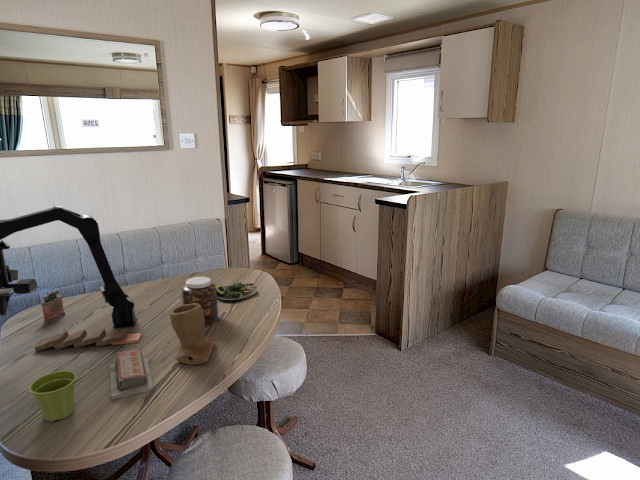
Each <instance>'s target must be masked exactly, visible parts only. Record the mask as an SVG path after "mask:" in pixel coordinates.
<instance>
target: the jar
mask: <svg viewBox="0 0 640 480" xmlns="http://www.w3.org/2000/svg"><path fill="white" fill-rule="evenodd" d="M215 285H216V284H215V283H214V282H212V281H211V278H210V277H208V276H195V277H190V278H188V279H186V280H185V284H184V285H183V286H182V288H181V301H182V305H186V304H192V303H196V304H199V305H200V306H201V307H202V309H203V313H204V318H205V325H204V327H208V326H211V325H213V324H216V323H217V322H218V320H219V304H218V303H219V302H218V300H217V291H216V286H215ZM215 322H216V323H215Z"/></svg>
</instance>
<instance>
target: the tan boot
mask: <svg viewBox="0 0 640 480" xmlns="http://www.w3.org/2000/svg"><path fill="white" fill-rule="evenodd" d="M169 318H170V323H171V326H172V329H173V330H174V332H175V334H176V336H177V338H178V340H179V343H180V346H179V349H178V352H177V355H176V357H175V360H176V361H177V362H179V363H182V364H186V365H190V366H191V365H193V366H195V365H201V364H204V363H207V361H208V360H209V359H210V356H211V353H212V351H213V348H214V345H215V339H214V337H210V336H209V337H208V336H205V326H204V325H205V318H204V313H203V309H202V307H201V306H200V305H199V304H196V303H192V304H186V305H183V304H182V305H179V306H177V307H174V308H173V309H171V311H170V313H169Z"/></svg>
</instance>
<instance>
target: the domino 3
mask: <svg viewBox="0 0 640 480" xmlns="http://www.w3.org/2000/svg"><path fill="white" fill-rule="evenodd" d="M105 334H107V332H106V329H105V328H104V329H100V330H97V331H96V330H95V331H93V332H89V333H87V335H86V336H85V337H84V339H83V340H82V341H81V342H78V343H75V344H72V345H73V347H74V349H78V348H81V347H85V346H87V345H91V344H94V343H95V344H96V342H98V341H101V340H102V339H103V337H104V336H105Z"/></svg>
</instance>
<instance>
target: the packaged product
mask: <svg viewBox="0 0 640 480" xmlns="http://www.w3.org/2000/svg"><path fill="white" fill-rule="evenodd" d="M149 365H150V364H149V360H148V356H147V355H145V356H143V353H142V350H141V349H137V348H133V349H128V350H124V351H119V352H117V353H116V355H115V361H112V362H110V363H109V377H110V379H109V380H110V382H109V383H110V398H111V400H112V401H113V400H117V399H121V398H126V397H129V396H133V395H138V394H141V393H144V392H146V393H147V392H149V391H153V390H154V384H153V380H152V375H151V371H150V366H149Z"/></svg>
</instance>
